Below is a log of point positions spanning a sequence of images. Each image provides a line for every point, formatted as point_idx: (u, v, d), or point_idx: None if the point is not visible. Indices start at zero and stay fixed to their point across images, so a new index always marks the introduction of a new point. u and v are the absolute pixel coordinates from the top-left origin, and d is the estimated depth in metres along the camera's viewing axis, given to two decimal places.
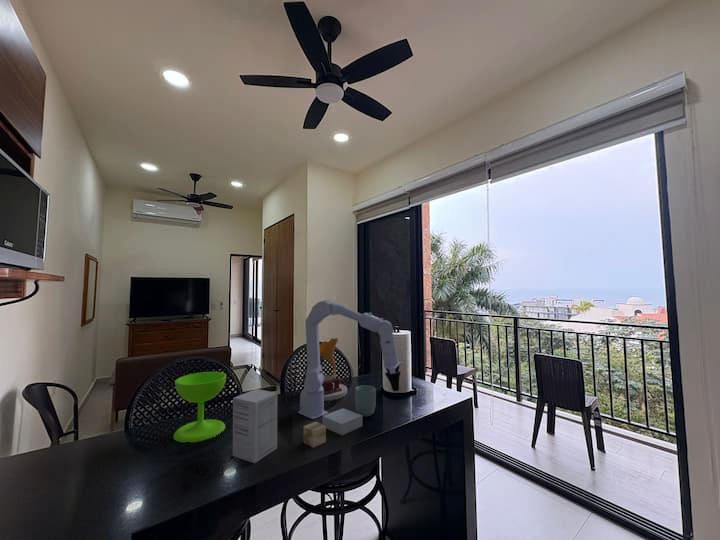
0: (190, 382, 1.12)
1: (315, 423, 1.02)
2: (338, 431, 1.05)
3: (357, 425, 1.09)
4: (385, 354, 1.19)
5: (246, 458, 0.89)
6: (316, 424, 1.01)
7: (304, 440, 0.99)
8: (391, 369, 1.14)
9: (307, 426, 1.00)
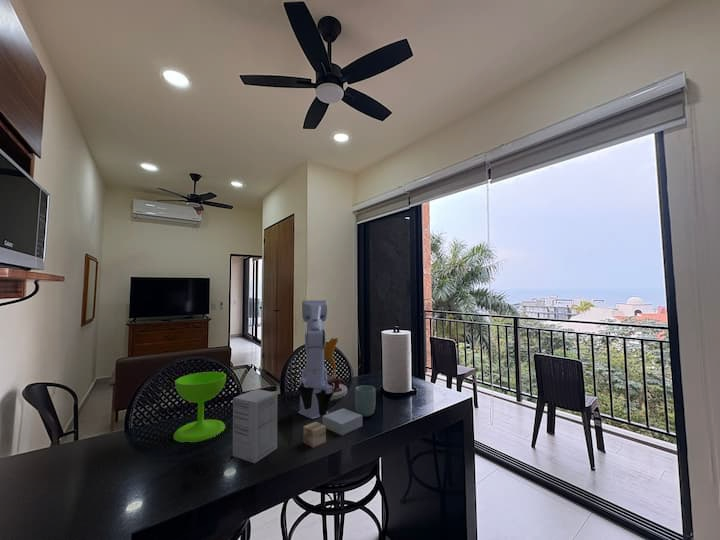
0: (190, 382, 1.12)
1: (315, 423, 1.02)
2: (338, 431, 1.05)
3: (357, 425, 1.09)
4: None
5: (246, 458, 0.89)
6: (316, 424, 1.01)
7: (304, 440, 0.99)
8: None
9: (307, 426, 1.00)
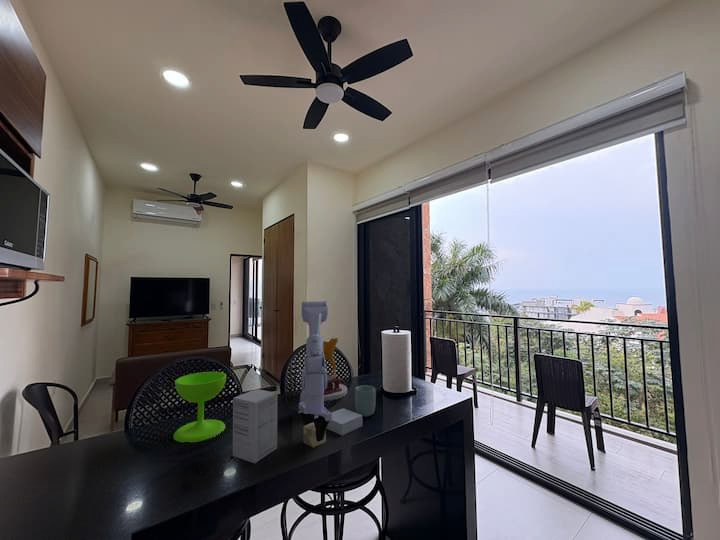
0: (190, 382, 1.12)
1: None
2: (338, 431, 1.05)
3: (357, 425, 1.09)
4: None
5: (246, 458, 0.89)
6: None
7: (304, 440, 0.99)
8: None
9: (307, 426, 1.00)
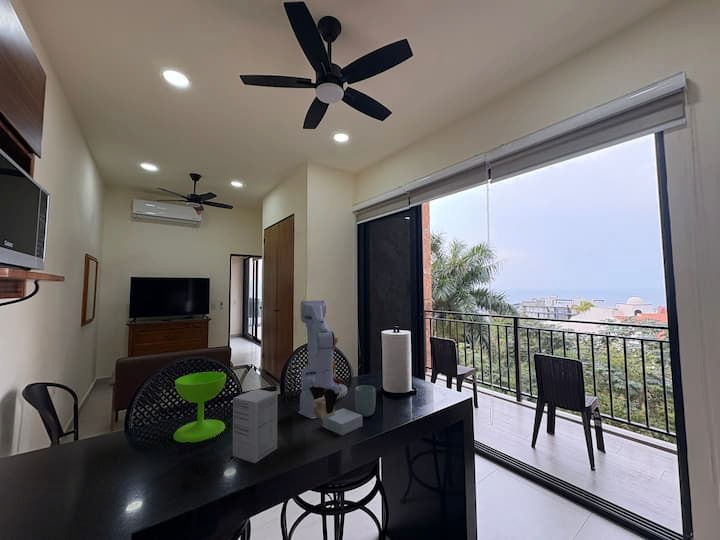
0: (190, 382, 1.12)
1: (324, 397, 1.06)
2: (338, 431, 1.05)
3: (357, 425, 1.09)
4: None
5: (246, 458, 0.89)
6: None
7: (314, 413, 1.03)
8: None
9: (317, 400, 1.04)
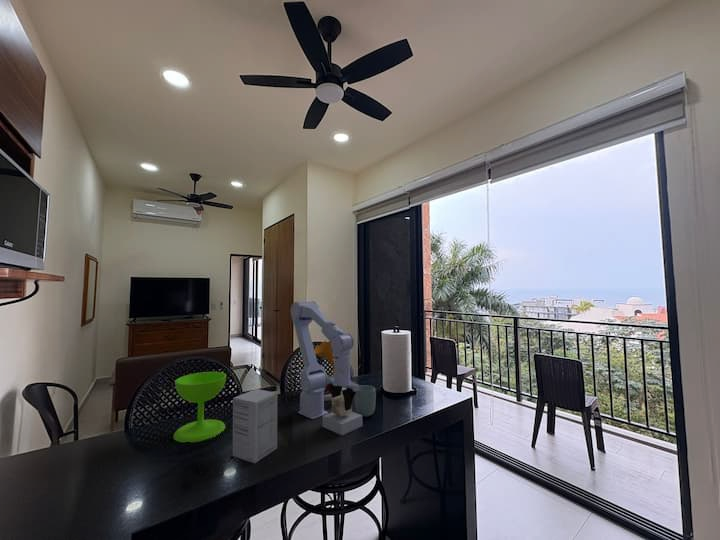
0: (190, 382, 1.12)
1: (341, 396, 1.13)
2: (338, 431, 1.05)
3: (357, 425, 1.09)
4: None
5: (246, 458, 0.89)
6: (343, 396, 1.13)
7: (332, 410, 1.11)
8: None
9: (335, 398, 1.11)
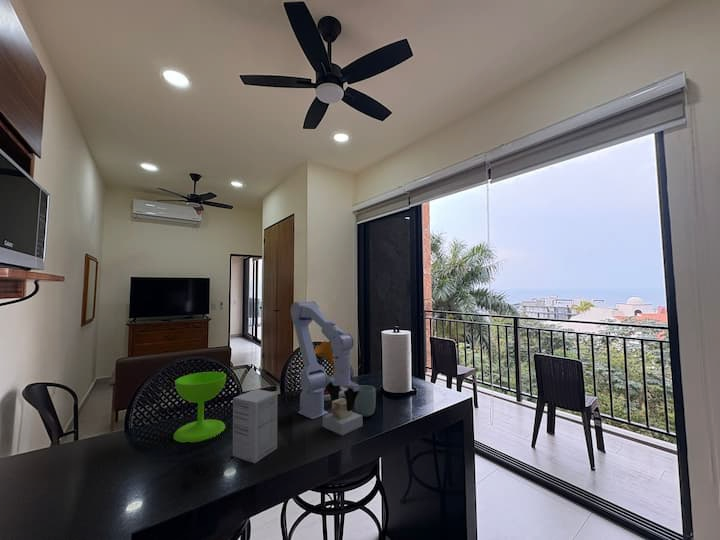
0: (190, 382, 1.12)
1: (342, 399, 1.14)
2: (338, 432, 1.05)
3: (357, 425, 1.09)
4: None
5: (246, 458, 0.89)
6: (343, 399, 1.13)
7: (332, 413, 1.11)
8: None
9: (335, 401, 1.12)
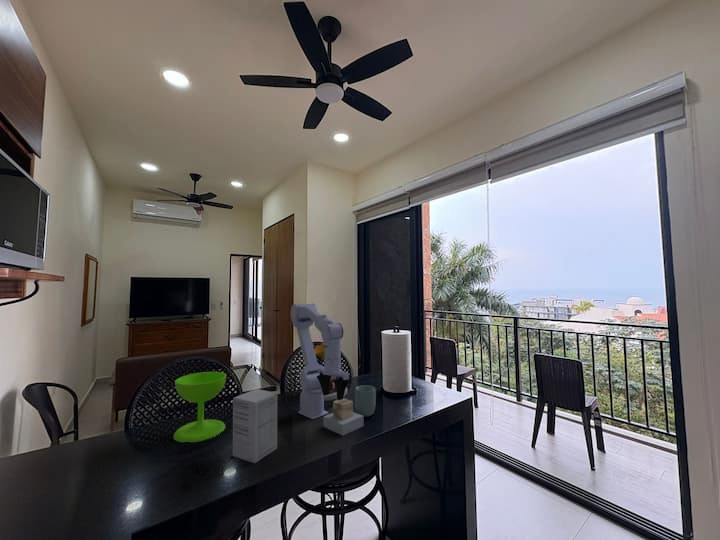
0: (190, 382, 1.12)
1: (343, 399, 1.14)
2: (338, 432, 1.05)
3: (358, 425, 1.09)
4: None
5: (246, 458, 0.89)
6: (344, 400, 1.13)
7: (334, 414, 1.11)
8: None
9: (336, 401, 1.12)
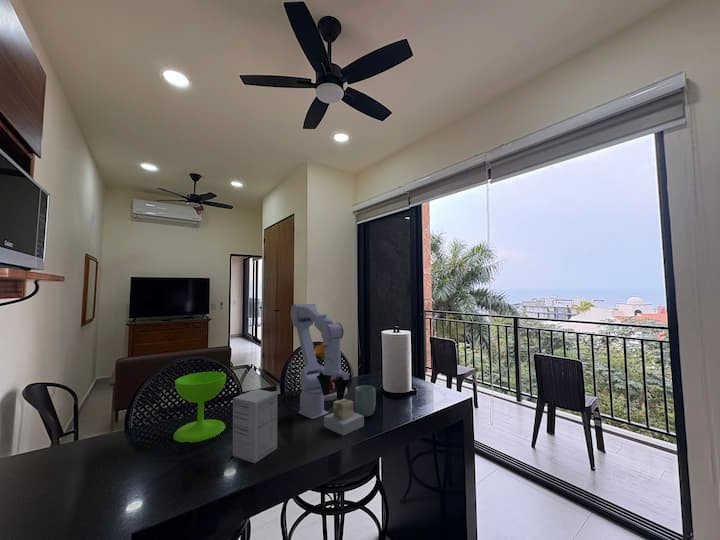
0: (190, 382, 1.12)
1: (343, 399, 1.14)
2: (339, 432, 1.05)
3: (358, 425, 1.09)
4: None
5: (246, 458, 0.89)
6: (345, 400, 1.13)
7: (334, 414, 1.11)
8: None
9: (336, 401, 1.11)
